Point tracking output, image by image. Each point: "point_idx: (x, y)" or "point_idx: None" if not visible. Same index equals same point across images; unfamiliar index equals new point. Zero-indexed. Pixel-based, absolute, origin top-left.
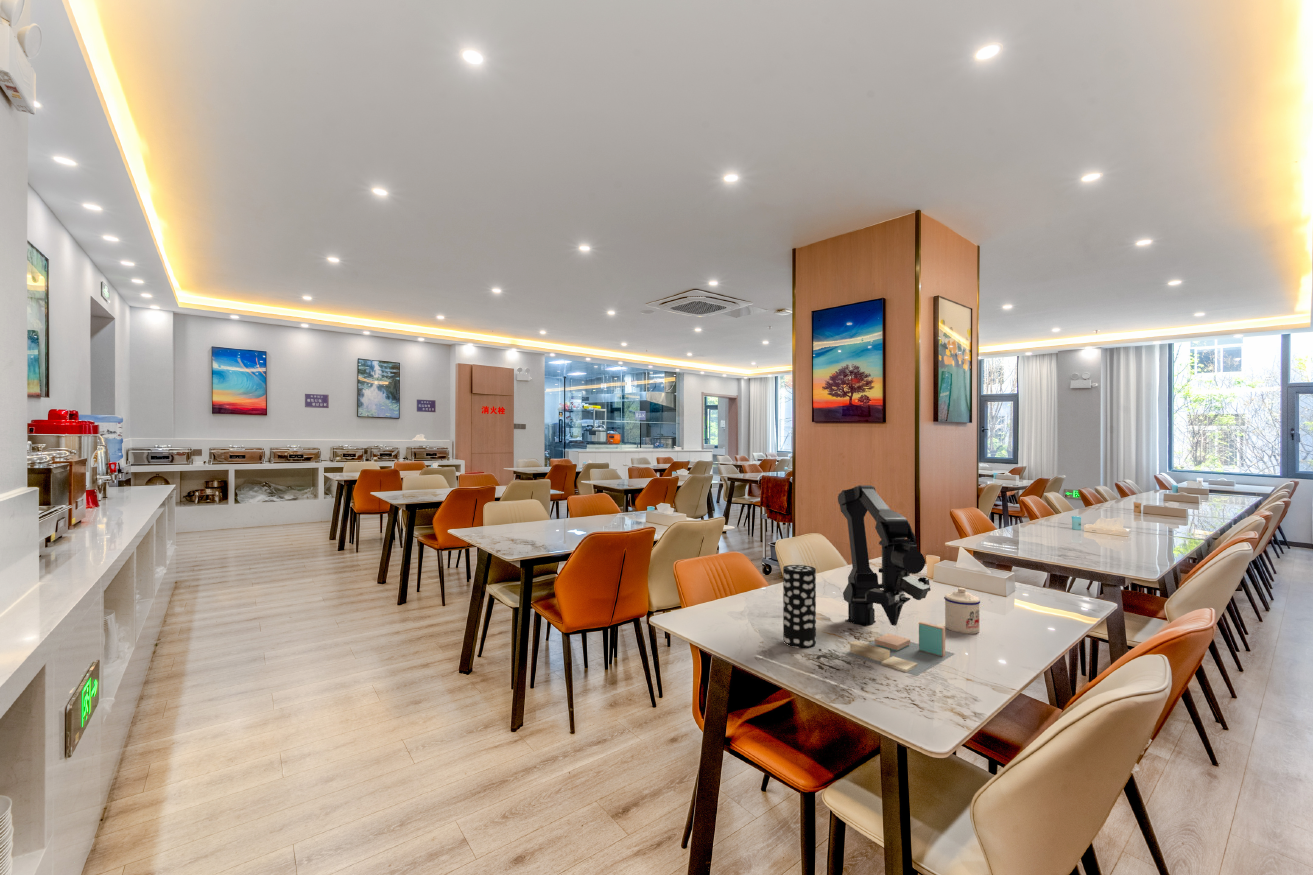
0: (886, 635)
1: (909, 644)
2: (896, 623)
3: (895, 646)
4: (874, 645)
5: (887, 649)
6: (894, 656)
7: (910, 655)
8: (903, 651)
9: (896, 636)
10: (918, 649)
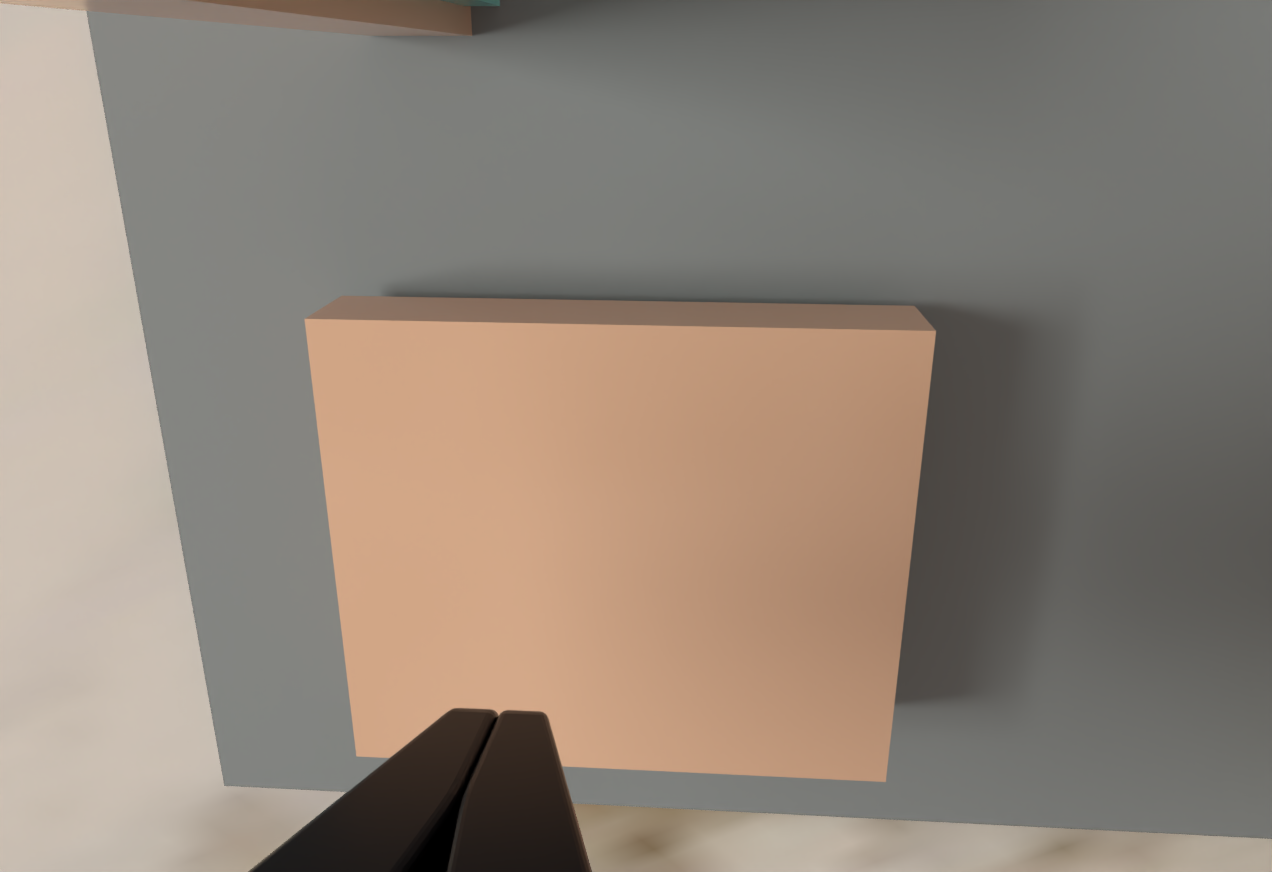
0: None
1: None
2: (471, 729)
3: (927, 362)
4: None
5: None
6: (1230, 214)
7: (930, 6)
8: (797, 223)
9: (384, 585)
10: (438, 61)
